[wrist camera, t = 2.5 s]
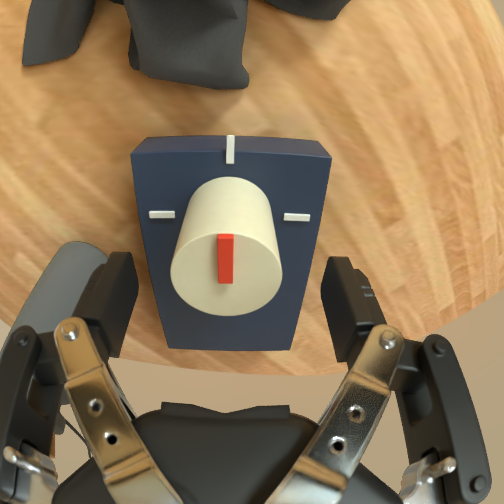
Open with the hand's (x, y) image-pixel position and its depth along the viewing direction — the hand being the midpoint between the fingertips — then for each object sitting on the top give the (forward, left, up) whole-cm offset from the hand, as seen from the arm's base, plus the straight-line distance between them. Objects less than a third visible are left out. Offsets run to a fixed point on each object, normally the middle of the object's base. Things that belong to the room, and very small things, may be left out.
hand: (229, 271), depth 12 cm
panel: (-5, 0, -8) cm, 9 cm away
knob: (0, 0, -5) cm, 5 cm away
